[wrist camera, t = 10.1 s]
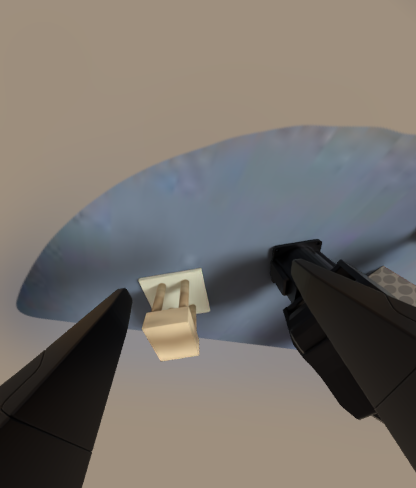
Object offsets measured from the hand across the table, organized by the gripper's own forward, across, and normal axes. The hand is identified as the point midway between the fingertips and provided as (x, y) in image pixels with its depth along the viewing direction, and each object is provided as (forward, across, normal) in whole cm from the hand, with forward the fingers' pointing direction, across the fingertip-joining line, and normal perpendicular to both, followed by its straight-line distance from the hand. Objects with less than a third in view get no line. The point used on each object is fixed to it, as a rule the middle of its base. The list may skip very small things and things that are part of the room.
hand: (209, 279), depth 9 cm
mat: (+12, +6, +13) cm, 19 cm away
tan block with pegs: (+12, +6, +13) cm, 18 cm away
